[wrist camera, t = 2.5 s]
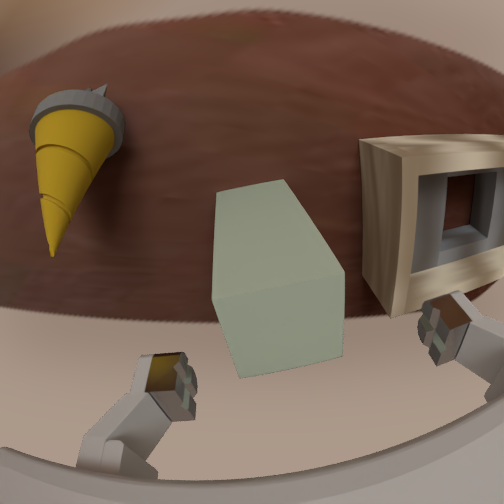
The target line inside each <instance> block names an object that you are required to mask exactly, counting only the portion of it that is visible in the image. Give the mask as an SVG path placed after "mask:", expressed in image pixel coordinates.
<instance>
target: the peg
mask: <svg viewBox="0 0 504 504" xmlns="http://www.w3.org/2000/svg"><path fill="white" fill-rule="evenodd" d="M212 302H213V305H214V308H215V310H216V313H217V316H218V319H219V322H220V325H221V328H222V331H223V334H224V336H225V340H226V342H227V345H228V348H229V351H230V354H231V356H232V359H233V362H234V365H235V367H236V370H237V372H238V375H239V378H246V377H251V376H257V375H263V374H268V373H274V372H278V371H283V370H288V369H293V368H297V367H302V366H307V365H311V364H315V363H319V362H323V361H327V360H331V359H335V358H339V357H342V354H343V335H344V334H343V333H344V304H345V272H344V270H343V269H342V267H341V265H340V264H339V262H338V261H337V259H336V257H335V256H334V254H333V253H332V251H331V249H330V248H329V246H328V245H327V243H326V242H325V240H324V239H323V237H322V235H321V234H320V232H319V231H318V229H317V228H316V226H315V225H314V223H313V222H312V220H311V219H310V217H309V216H308V214H307V213H306V211H305V210H304V208H303V207H302V205H301V204H300V202H299V201H298V199H297V198H296V197H295V195H294V194H293V192H292V191H291V189H290V188H289V186H288V185H287V184H286V182H285V181H284V179H282V180H276V181H271V182H266V183H260V184H255V185H250V186H245V187H240V188H235V189H230V190H225V191H221V192H217V196H216V213H215V232H214V253H213V279H212Z"/></svg>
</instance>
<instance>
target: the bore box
mask: <svg viewBox="0 0 504 504" xmlns="http://www.w3.org/2000/svg"><path fill="white" fill-rule="evenodd" d="M359 149H360V163H361V181H362V211H363V254H362V276H363V277H364V279H365V280H366V282H367V283H368V285H369V286H370V288H371V289H372V291H373V292H374V294H375V295H376V297H377V298H378V300H379V302H380V303H381V305H382V306H383V308H384V309H385V311H386V312H387V314H388V316H389V317H390V318H394V317H397V316H400V315H403V314H406V313H410V312H413V311H416V310H419V309H421V308H422V304H423V303H424V301H426V300H429V299H432V298H435V297H438V296H441V295H444V294H447V293H450V292H453V291H456V290H459V291H461V292H462V293H466V292H468V291H471V290H473V289H476V288H478V287H481V286H483V285H486V284H488V283H490V282H493V281H495V280H497V279H500V278H502V277H504V135H487V134H437V135H412V136H395V137H381V138H369V139H359ZM469 174H475V182H474V193H473V202H472V210H471V217H470V224H469V225H466V226H462V227H457V228H453V229H449V230H445V231H443V224H444V215H445V205H446V193H447V177H451V176H460V175H469Z"/></svg>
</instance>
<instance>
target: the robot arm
mask: <svg viewBox="0 0 504 504" xmlns="http://www.w3.org/2000/svg"><path fill="white" fill-rule="evenodd" d="M421 311H422V312H423V315H422V316H421V318H420V319H419V321H418V335H419V337H420V340H421V342H422V343H423V344H424V345H425V346H428V347H429V355H430V356H431V358H432V360H433V361H434V363H435V365H436V366H439V365H441V364H444V363H447V362H449V361H451V360H454V359H455V361H457V362H459V363H460V364H462V365H463V366H465V367H466V368H468V369H469V370H471V371H472V372H474V373H475V374H477V375H478V376H480V377H481V378H483V379H484V380H486V381H487V382H489V383H490V384H491V385H490V386H489V388H488V389H487V391H486V393H485V395H484V397H485V399H486V401H487V403H486V404H484V405H483V406H481V407H479V408H477V409H476V410H474V411H472V412H470V413H468V414H466V415H464V416H463V417H461V418H459V419H457V420H455V421H453V422H451V423H448V424H446V425H444V426H443V427H440V428H438V429H436V430H433V431H431V432H429V433H427V434H424V435H422V436H419V437H417V438H415V439H412V440H409V441H407V442H404V443H402V444H399V445H396V446H394V447H391V448H388V449H385V450H382V451H379V452H376V453H373V454H370V455H366V456H363V457H359V458H356V459H352V460H348V461H345V462H341V463H337V464H332V465H328V466H324V467H319V468H314V469H310V470H304V471H299V472H293V473H287V474H280V475H273V476H265V477H256V478H245V479H231V480H204V481H185V480H160V479H158V471H157V470H156V469H155V468H154V467H152V466H151V465H150V464H148V463H147V462H146V459H147V458H148V457H149V455H150V453H151V452H152V451H153V449H154V448H155V446H156V445H157V444H158V442H159V441H160V439H161V438H162V437H163V435H164V433H165V432H166V430H167V429H168V428H169V426H170V425H171V423H172V422H174V421H189V420H195V412H196V403H195V401H194V399H193V397H194V396H195V395H196V394H197V378H196V375H195V372H194V370H193V368H192V367H191V366H189V365H187V363H188V358H187V357H186V355H185V353H184V352H176V353H163V354H153V355H141V357H140V358H139V359H138V363H137V367H136V370H135V374H134V378H133V382H132V386H131V389H130V393H126V394H125V395H124V396H123V397H122V398H121V399H120V400H119V401H118V402H117V403H116V404H115V405H114V406H113V407H112V408H111V409H110V410H109V411H108V412H107V413H106V414H105V415H104V416H103V417H102V418H101V419H100V420H99V421H98V422H97V423H96V424H95V425H94V426H93V427H92V428H91V429H90V430H89V431H88V432H87V433H86V434H85V435H84V437H83V440H82V445H81V448H80V452H79V456H78V460H77V464H76V467H71V466H67V465H63V464H59V463H55V462H51V461H48V460H44V459H41V458H38V457H34V456H31V455H28V454H25V453H22V452H20V451H17V450H14V449H12V448H8V447H1V448H0V504H504V323H502V322H500V321H497V320H495V319H493V318H490V317H488V316H484V317H483V316H482V315H481V314H480V313H479V311H478V310H477V309H476V308H475V307H474V306H473V304H472V303H471V302H470V301H469V300H468V299H467V298H466V296H465V295H464V294H463V293H462V292H461V291H459V290H456V291H453V292H450V293H447V294H444V295H441V296H438V297H435V298H432V299H429V300H426V301H424V303H423V304H422V308H421Z"/></svg>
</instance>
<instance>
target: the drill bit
mask: <svg viewBox="0 0 504 504" xmlns="http://www.w3.org/2000/svg"><path fill="white" fill-rule="evenodd" d="M106 88H107V84H106V85H104V86H102V87H100V88H98V89H96V90H94V91H92V92H91V87H90V88H88V89H87V90H86V91H84V90H65V91H60V92H57V93H54V94H52V95H50V96H48V97H47V98H45V99H44V100H43V101H42V102H41V103H40V104H39V105H38V107H37V109H36V111H35V113H34V116H33V118H32V121H31V123H30V128H29V134H30V138H31V140H32V142H33V143H34V145H35V146H36V162H37V174H38V184H39V192H40V194H41V195H43V199H40V200H41V207H42V213H43V219H44V225H45V231H46V236H47V241H48V243H49V245H50V246H49V250H50V254H51V257H54V255H55V253H56V251H57V249H58V247H59V244H60V242H61V240H62V238H63V236H64V234H65V232H66V229H67V227H68V225H69V223H70V221H71V219H72V217H73V215H74V213H75V211H76V210H77V208H78V206H79V204H80V202H81V200H82V198H83V196H84V195H85V193H86V191H87V189H88V187H89V186H90V184H91V182H92V181H93V179H94V177H95V175H96V174H97V172H98V170H99V169H100V167H101V165H102V164H103V162H104V161H105V159H106V158H108V157H110V156H112V155H113V154H115V153H116V152H117V151H118V149H119V148H120V146H121V143H122V139H123V134H124V129H125V119H124V116H123V114H122V112H121V111H120V109H119V108H118V107H117V106H116V105H115V104H114V103H113V102H112V101H110V100H109V99H107V98H106V97H105V93H106Z"/></svg>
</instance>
